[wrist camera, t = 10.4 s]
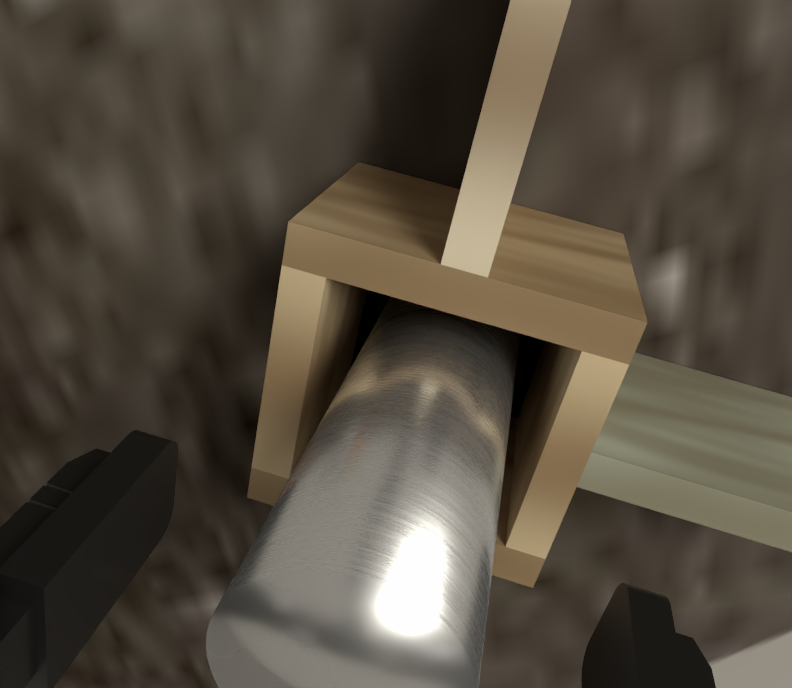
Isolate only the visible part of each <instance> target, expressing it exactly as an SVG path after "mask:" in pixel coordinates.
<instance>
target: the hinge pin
mask: <svg viewBox="0 0 792 688" xmlns="http://www.w3.org/2000/svg"><path fill="white" fill-rule="evenodd" d="M519 341H520V333H517V332H513V331H510V330H506V329H503V328H499V327H496V326H492V325H489V324H485V323H482V322H478V321H475V320H471V319H468V318H464V317H461V316H457V315H454V314H450V313H447V312H443V311H440V310H436V309H433V308H429V307H426V306H423V305H419V304H416V303H412V302H409V301H405V300H402V299H398V298H395V297H390V299H389V301H388V303H387V304H386V306H385V308H384V310H383V312H382V313H381V315H380V317H379V319H378V320H377V322H376V324H375V326H374V328H373V329H372V331H371V333H370V335H369V336H368V338H367V340H366V342H365V344H364V345H363V347H362V349H361V351H360V353H359V354H358V356H357V358H356V360H355V361H354V363H353V365H352V367H351V369H350V370H349V372H348V374H347V376H346V378H345V379H344V381H343V383H342V385H341V386H340V388H339V390H338V392H337V394H336V395H335V397H334V399H333V401H332V403H331V404H330V406H329V408H328V410H327V411H326V413H325V415H324V417H323V419H322V420H321V422H320V424H319V426H318V428H317V429H316V431H315V433H314V435H313V436H312V438H311V440H310V442H309V444H308V445H307V447H306V449H305V451H304V453H303V454H302V456H301V458H300V460H299V461H298V463H297V465H296V467H295V469H294V470H293V472H292V474H291V476H290V478H289V479H288V481H287V483H286V485H285V486H284V488H283V490H282V492H281V494H280V495H279V497H278V499H277V501H276V503H275V504H274V506H273V508H272V510H271V511H270V513H269V515H268V517H267V519H266V520H265V522H264V524H263V526H262V528H261V529H260V531H259V533H258V535H257V536H256V538H255V540H254V542H253V544H252V545H251V547H250V549H249V551H248V553H247V554H246V556H245V558H244V560H243V561H242V563H241V565H240V567H239V569H238V570H237V572H236V574H235V576H234V577H233V579H232V581H231V583H230V585H229V586H228V588H227V590H226V592H225V594H224V595H223V597H222V599H221V601H220V602H219V604H218V606H217V608H216V610H215V611H214V613H213V616H212V618H211V620H210V622H209V626H208V630H207V634H206V651H207V659H208V663H209V666H210V669H211V672H212V674H213V677H214V679H215V681H216V683H217V685H218V687H219V688H478V687H479V678H480V670H481V661H482V653H483V644H484V636H485V628H486V619H487V611H488V602H489V594H490V585H491V577H492V569H493V560H494V552H495V543H496V535H497V526H498V518H499V510H500V501H501V493H502V484H503V476H504V467H505V459H506V451H507V442H508V434H509V425H510V417H511V408H512V400H513V392H514V383H515V375H516V366H517V358H518V349H519Z"/></svg>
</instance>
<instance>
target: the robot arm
mask: <svg viewBox="0 0 792 688" xmlns="http://www.w3.org/2000/svg"><path fill="white" fill-rule="evenodd" d="M177 456H178V446H177V444H176V442H174V441H170V440H167V439H164V438H161V437H157V436H154V435H151V434H148V433H145V432H141V431H138V430H135V431H132V432H131V433H130V434H129V435H127V437H126V438H125V439H124V440H123V441H122V442H121V443H120V444H119V445H118V446H117V447H116V448H115V449H114V450H113V451H112V452H111V453H109V452H106V451H103V450H100V449H95V450H93V451H91V452H88V453H86V454H84V455H82V456H80V457H78V458H76V459H74V460H72V461H70V462H68V463H67V464H66V465H65V466H64V467H63V468H62V469H61V470H59V471H58V472H57V473H56V474H55V475H54V476H53V477H52V478H51V479H50V480H49V481H48V482H47V485H46V486H43V487H42V488H41V489H40V490H39V491H38V492H37V493H36V494H35V495H34V496H33V497H31V500H30V502H29V503H27V502H26V503H25V504H24V505H23V506H22V507H21V508H20V509H19V510H18V511H17V512H16V513H15V514H14V515H13V516H12V517H11V518H10V519H9V520H8V521H7V522H6V523H5V524H3V525H2V526H1V527H0V688H54V686H55V685H56V684H57V682H58V681H59V679H60V678H61V677H62V675H63V674H64V673H65V671H66V670H67V668H68V667H69V666H70V664H71V663H72V661H73V660H74V659H75V657H76V656H77V655H78V653H79V652H80V650H81V649H82V648H83V646H84V645H85V644H86V642H87V641H88V639H89V638H90V637H91V635H92V634H93V632H94V631H95V630H96V628H97V627H98V626H99V624H100V623H101V621H102V620H103V619H104V617H105V616H106V614H107V613H108V612H109V610H110V609H111V608H112V606H113V605H114V603H115V602H116V601H117V599H118V598H119V597H120V595H121V594H122V592H123V591H124V590H125V588H126V587H127V585H128V584H129V583H130V581H131V580H132V579H133V577H134V576H135V574H136V573H137V572H138V570H139V569H140V567H141V566H142V565H143V563H144V562H145V561H146V559H147V558H148V556H149V555H150V554H151V552H152V551H153V550H154V548H155V547H156V545H157V544H158V543H159V541H160V540H161V538H162V536H163V535H164V533H165V531H166V528H167V526H168V524H169V521H170V518H171V515H172V510H173V504H174V492H175V480H176V468H177ZM582 688H716V687H715V682H714V678H713V673H712V669H711V667H710V665H709V664H708V662H707V660H706V659H705V657H704V655H703V654H702V652H701V651H700V649H699V647H698V646H697V644H696V642H695V641H694V639H693V638H691V637H688V636H685V635H681V634H678V633H675V627H674V621H673V616H672V610H671V605H670V602H669V599H668V598H667V597H666V596H663V595H660V594H657V593H654V592H650V591H647V590H644V589H641V588H638V587H634V586H631V585H628V584H625V583H621V584H620V585H619V586H618V587H617V588H616V590H615V592H614V594H613V596H612V598H611V600H610V602H609V603H608V605H607V607H606V609H605V611H604V613H603V615H602V617H601V619H600V621H599V623H598V625H597V627H596V629H595V631H594V633H593V635H592V637H591V638H590V641H589V643H588V646H587V649H586V652H585V656H584V661H583V667H582Z"/></svg>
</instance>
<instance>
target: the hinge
mask: <svg viewBox="0 0 792 688" xmlns="http://www.w3.org/2000/svg"><path fill="white" fill-rule="evenodd" d="M570 3H571V0H510V4H509V8H508V11H507V15H506V19H505V23H504V26H503V30H502V34H501V38H500V42H499V45H498V49H497V53H496V57H495V61H494V64H493V68H492V72H491V76H490V79H489V83H488V87H487V91H486V95H485V98H484V102H483V106H482V110H481V113H480V117H479V121H478V125H477V129H476V132H475V136H474V140H473V144H472V148H471V151H470V155H469V159H468V163H467V166H466V170H465V174H464V178H463V182H462V185H461V189H457V188H453V187H449V186H445V185H442V184H438V183H434V182H431V181H427V180H423V179H420V178H416V177H412V176H409V175H405V174H401V173H398V172H394V171H390V170H387V169H383V168H379V167H376V166H372V165H368V164H365V163H361V162H358V163H357V164H356V165H355V166H354V167H352V168H351V169H350V170H349V171H348V172H346V173H345V174H344V175H343V176H342V177H341V178H339V179H338V180H337V181H336V182H335V183H333V184H332V185H331V186H330V187H329V188H328V189H326V190H325V191H324V192H323V193H322V194H320V195H319V196H318V197H317V198H316V199H314V200H313V201H312V202H311V203H310V204H309V205H307V206H306V207H305V208H304V209H303V210H301V211H300V212H299V213H298V214H297V215H295V216H294V217H293V218H292V219H291V220H290V221H288V227H287V234H286V240H285V247H284V254H283V260H282V267H281V274H280V280H279V287H278V294H277V300H276V307H275V314H274V320H273V327H272V334H271V340H270V347H269V354H268V360H267V367H266V374H265V381H264V387H263V394H262V401H261V407H260V414H259V421H258V427H257V434H256V441H255V447H254V454H253V461H252V467H251V474H250V481H249V487H248V494H247V498H250V499H253V500H256V501H259V502H263V503H266V504H269V505H272V506H274V504H275V503H276V501H277V499H278V497H279V495H280V494H281V492H282V490H283V488H284V486H285V485H286V483H287V481H288V479H289V478H290V476H291V474H292V472H293V470H294V469H295V467H296V465H297V463H298V461H299V460H300V458H301V456H302V454H303V453H304V451H305V449H306V447H307V445H308V444H309V442H310V440H311V438H312V436H313V435H314V433H315V431H316V429H317V428H318V426H319V424H320V422H321V420H322V419H323V417H324V415H325V413H326V411H327V410H328V408H329V406H330V404H331V403H332V401H333V399H334V397H335V395H336V394H337V392H338V390H339V388H340V386H341V385H342V383H343V381H344V379H345V378H346V376H347V374H348V372H349V370H350V368H351V363H352V358H353V354H354V349H355V345H356V340H357V335H358V331H359V326H360V321H361V317H362V312H363V307H364V303H365V298H366V293H367V290H370V291H374V292H377V293H381V294H384V295H388V296H391V297H395V298H398V299H402V300H405V301H409V302H412V303H416V304H419V305H423V306H426V307H429V308H433V309H436V310H440V311H443V312H447V313H450V314H454V315H457V316H461V317H464V318H468V319H471V320H475V321H478V322H482V323H485V324H489V325H492V326H496V327H499V328H503V329H506V330H510V331H513V332H517V333H520V334H524V335H527V336H531V337H534V338H538V339H541V340H545V344H544V347H543V349H542V352H541V355H540V358H539V361H538V363H537V366H536V369H535V372H534V374H533V377H532V380H531V383H530V386H529V388H528V391H527V394H526V397H525V399H524V402H523V405H522V408H521V411H520V413H519V416H518V418H515V417H512V416H511V417H510V425H509V434H508V442H507V451H506V459H505V467H504V476H503V484H502V493H501V501H500V510H499V518H498V526H497V535H496V543H495V552H494V560H493V569H492V575H494V576H497V577H500V578H503V579H507V580H510V581H513V582H516V583H519V584H522V585H526V586H529V587H532V588H533V587H534V584H535V582H536V580H537V577H538V575H539V573H540V570H541V568H542V566H543V563H544V561H545V559H546V556H547V554H548V552H549V550H550V547H551V545H552V543H553V540H554V538H555V536H556V533H557V531H558V529H559V526H560V524H561V522H562V519H563V517H564V515H565V512H566V510H567V508H568V506H569V503H570V501H571V499H572V496H573V494H574V492H575V489H576V487H579V488H582V489H585V490H588V491H592V492H595V493H598V494H602V495H605V496H608V497H612V498H615V499H618V500H621V501H625V502H628V503H631V504H635V505H638V506H641V507H645V508H648V509H651V510H655V511H658V512H661V513H664V514H668V515H671V516H674V517H678V518H681V519H684V520H688V521H691V522H694V523H698V524H701V525H704V526H707V527H711V528H714V529H717V530H721V531H724V532H727V533H731V534H734V535H737V536H740V537H744V538H747V539H750V540H754V541H757V542H760V543H764V544H767V545H770V546H774V547H777V548H780V549H783V550H787V551H790V552H792V397H789V396H786V395H782V394H779V393H775V392H772V391H768V390H765V389H761V388H758V387H754V386H751V385H747V384H744V383H740V382H737V381H733V380H730V379H726V378H723V377H719V376H716V375H712V374H709V373H705V372H702V371H698V370H694V369H691V368H687V367H684V366H680V365H677V364H673V363H670V362H666V361H663V360H659V359H656V358H652V357H649V356H645V355H642V354H638V353H635V350H636V348H637V346H638V343H639V341H640V339H641V336H642V334H643V332H644V330H645V327H646V325H647V319H646V315H645V312H644V308H643V304H642V301H641V297H640V293H639V290H638V286H637V282H636V278H635V275H634V271H633V267H632V264H631V260H630V256H629V253H628V249H627V245H626V242H625V238H624V234H622V233H618V232H615V231H611V230H607V229H604V228H600V227H596V226H593V225H589V224H585V223H582V222H578V221H574V220H571V219H567V218H563V217H559V216H556V215H552V214H548V213H545V212H541V211H537V210H534V209H530V208H526V207H523V206H519V205H515V204H512V203H510V202H511V199H512V196H513V193H514V189H515V186H516V183H517V179H518V176H519V173H520V169H521V166H522V163H523V159H524V156H525V153H526V149H527V146H528V143H529V139H530V136H531V133H532V129H533V126H534V123H535V120H536V116H537V113H538V110H539V106H540V103H541V100H542V96H543V93H544V90H545V86H546V83H547V80H548V76H549V73H550V70H551V66H552V63H553V60H554V56H555V53H556V50H557V47H558V43H559V40H560V37H561V33H562V30H563V27H564V23H565V20H566V17H567V13H568V10H569V7H570Z"/></svg>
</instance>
